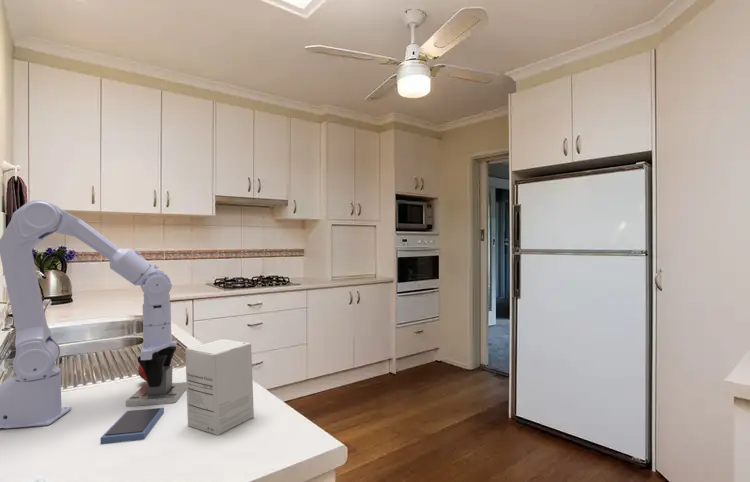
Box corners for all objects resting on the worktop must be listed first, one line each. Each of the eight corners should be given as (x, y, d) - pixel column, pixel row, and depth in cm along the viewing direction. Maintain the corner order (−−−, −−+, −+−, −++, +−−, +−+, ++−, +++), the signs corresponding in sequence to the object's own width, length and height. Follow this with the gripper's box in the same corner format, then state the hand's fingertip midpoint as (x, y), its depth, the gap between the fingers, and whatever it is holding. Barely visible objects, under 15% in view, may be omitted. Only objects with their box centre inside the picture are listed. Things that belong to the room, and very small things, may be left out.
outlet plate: (125, 406, 89) (125, 400, 89) (144, 390, 99) (143, 384, 99) (175, 402, 91) (175, 396, 91) (188, 387, 101) (188, 381, 101)
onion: (133, 385, 103) (132, 353, 103) (155, 378, 108) (154, 347, 108) (148, 388, 100) (147, 355, 100) (169, 381, 105) (168, 349, 105)
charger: (146, 398, 93) (147, 370, 93) (153, 392, 97) (154, 365, 97) (165, 397, 93) (166, 369, 94) (171, 391, 97) (172, 365, 98)
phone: (100, 446, 73) (100, 436, 73) (127, 418, 85) (126, 409, 85) (144, 442, 74) (143, 432, 74) (164, 415, 86) (163, 406, 86)
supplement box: (224, 408, 87) (223, 337, 87) (255, 417, 83) (253, 342, 83) (185, 425, 79) (183, 348, 79) (216, 436, 75) (214, 353, 75)
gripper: (164, 329, 89) (166, 392, 89) (184, 316, 103) (186, 371, 103) (129, 331, 87) (130, 395, 87) (154, 318, 102) (155, 373, 102)
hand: (158, 382), depth 95 cm, fingers open, 4 cm apart
